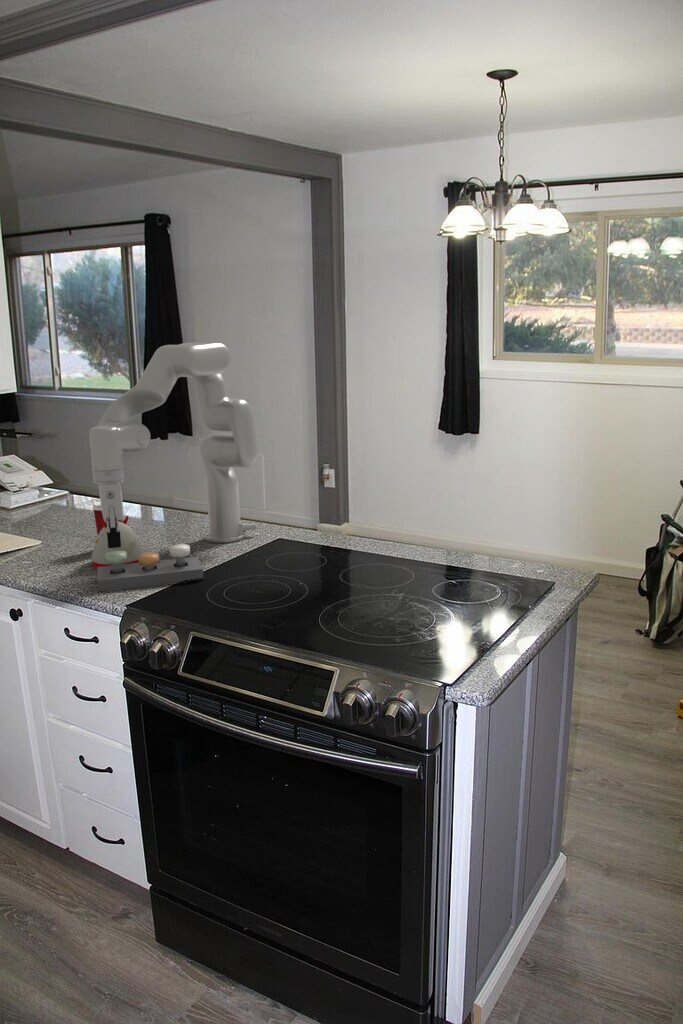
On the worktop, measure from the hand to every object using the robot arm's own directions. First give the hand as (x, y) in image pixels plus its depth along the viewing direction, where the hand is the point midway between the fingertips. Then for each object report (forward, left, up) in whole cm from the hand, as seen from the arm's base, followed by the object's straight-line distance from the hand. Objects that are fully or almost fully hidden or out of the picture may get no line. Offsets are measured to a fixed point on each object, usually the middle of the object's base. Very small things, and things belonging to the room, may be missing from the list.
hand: (114, 546), depth 215 cm
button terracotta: (-8, 0, -8) cm, 12 cm away
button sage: (0, 0, -7) cm, 7 cm away
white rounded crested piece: (-1, -19, -10) cm, 22 cm away
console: (-8, 0, -10) cm, 13 cm away
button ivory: (-16, 0, -7) cm, 18 cm away
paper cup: (+1, -34, -10) cm, 36 cm away
